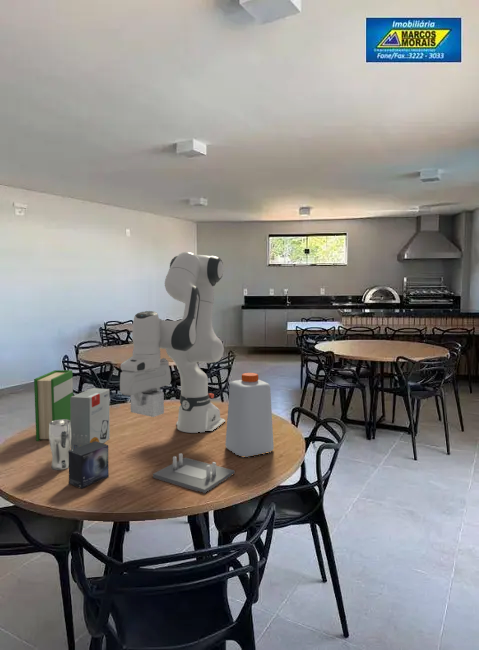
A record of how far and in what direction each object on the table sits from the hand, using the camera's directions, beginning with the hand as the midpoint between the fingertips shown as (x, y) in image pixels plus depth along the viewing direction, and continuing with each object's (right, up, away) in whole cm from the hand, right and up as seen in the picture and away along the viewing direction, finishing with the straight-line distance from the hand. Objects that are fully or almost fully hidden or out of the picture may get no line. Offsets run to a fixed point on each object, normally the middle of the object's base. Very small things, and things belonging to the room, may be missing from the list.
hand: (147, 403), depth 150 cm
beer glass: (-28, -21, +1) cm, 35 cm away
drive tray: (+16, -22, -6) cm, 28 cm away
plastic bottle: (+34, -20, +17) cm, 43 cm away
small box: (-16, -22, -10) cm, 29 cm away
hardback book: (-43, -18, +33) cm, 57 cm away
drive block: (0, -3, 0) cm, 3 cm away
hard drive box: (-25, -19, +21) cm, 38 cm away
